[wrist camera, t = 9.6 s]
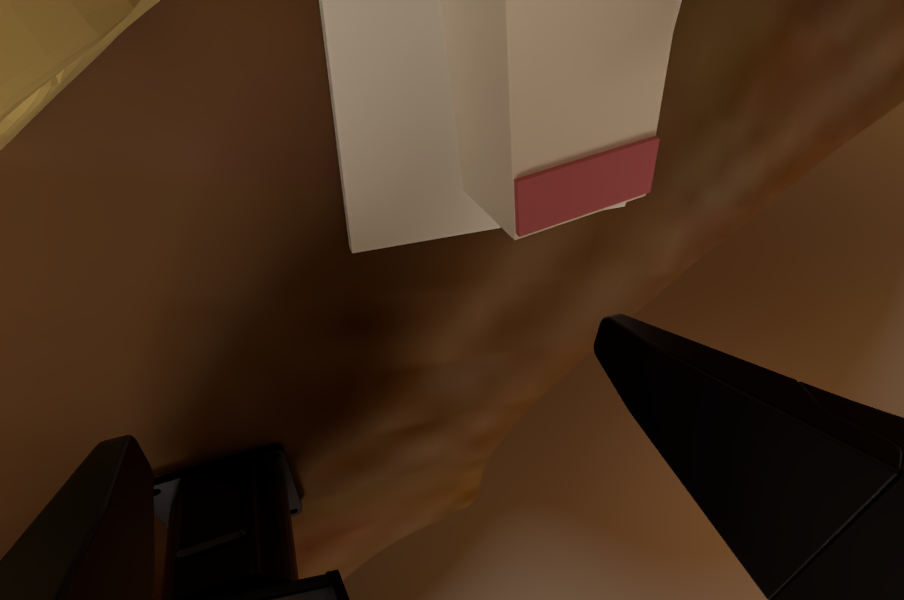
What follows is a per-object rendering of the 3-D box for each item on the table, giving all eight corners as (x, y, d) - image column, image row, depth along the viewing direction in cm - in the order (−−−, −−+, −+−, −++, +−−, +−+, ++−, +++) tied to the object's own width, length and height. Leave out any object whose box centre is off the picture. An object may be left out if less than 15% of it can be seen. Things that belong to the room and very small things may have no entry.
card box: (432, -70, 13) (507, -80, 10) (589, -96, 15) (705, -112, 11) (462, 190, 19) (518, 243, 15) (575, 156, 20) (650, 198, 17)
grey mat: (616, 201, 24) (624, 206, 23) (349, 246, 19) (352, 253, 19) (708, -145, 16) (722, -149, 15) (293, -208, 11) (296, -215, 11)
